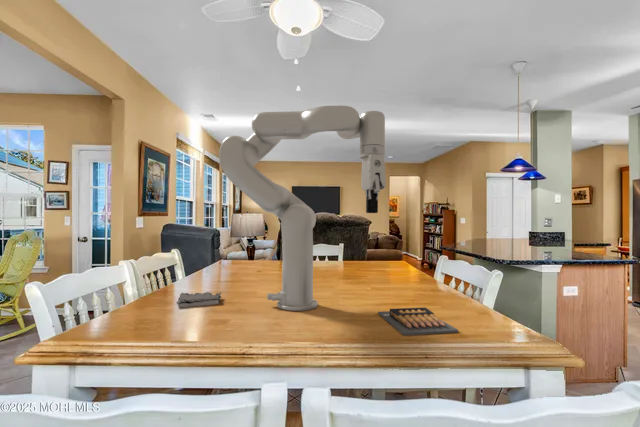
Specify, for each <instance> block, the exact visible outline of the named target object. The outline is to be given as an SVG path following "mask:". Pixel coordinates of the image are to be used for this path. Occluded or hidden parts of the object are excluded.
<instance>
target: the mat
mask: <svg viewBox="0 0 640 427" xmlns="http://www.w3.org/2000/svg"><path fill="white" fill-rule="evenodd" d="M377 314H378V315H379V316H380V317H381V318H382V319H384V321H386V322H387V323H388V324H390V325H391V326H392V327H393V328H395V330H397V331H398V332H399V333H400V334H402V335H403V336H417V335H419V336H420V335H436V334H454V333H455V334H456V333H457V334H458V333H459V330H458V329H457V328H456V327H454V326H452V325H450V324H448V323H447V322H446V321H443V320H442V319H440V320H441V321H443V322H444V323H445V325H446V326H445V327H444V326H441V325H439V324H438V325H439V327H436V326H433V325H432V327H428V326H426V325H425V326H426V327H425V328H424V327H421V326H420V325H418V326H419V328H416V327H414V326H412V325H411V326H412V328H408V327H406V326H405V325H403V324H402V323H400V322H397V321H396V320H395V319H393V318H392V317H391V316H390V310H388V311H387V310H386V311H385V310H384V311H378V313H377Z"/></svg>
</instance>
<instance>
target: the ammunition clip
mask: <svg viewBox="0 0 640 427" xmlns="http://www.w3.org/2000/svg"><path fill="white" fill-rule="evenodd" d="M389 311H390V316H391V317H392V318H393V319H395V320H396V321H397V322H400V323H402V324H403V325H405V326H406V327H408V328H412V326H414V327H416V328H419V326H418V325H420V326H421V327H424V328H425V327H426V326H428V327H432V325H433V326H436V327H439V325H441V326H444V327H445V326H446V325H445V323H446V322H445V321H444V322H445V323H444V322H443V320H442V319H440V318H439V317H438V316H437V315H435V313H434V312H433V311H432V310H430V309H428V308H427V307H404V308H400V307H399V308H389ZM441 320H442V321H441ZM438 324H439V325H438ZM411 325H412V326H411ZM425 325H426V326H425Z"/></svg>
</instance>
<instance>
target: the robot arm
mask: <svg viewBox="0 0 640 427" xmlns="http://www.w3.org/2000/svg"><path fill="white" fill-rule="evenodd" d="M385 119H386V117H385V114H384V112H381V111H380V110H368V111H364V112H363V113H361V115H360V113H359V112H358V111H357V109H356V108H354V107H352V106H349V105H321V106H316V107H313V108H308V109H305V110H300V111H299V110H297V111H295V110H293V111H262V112H259V113H257V114H255V115H254V116H253V118H252V120H251V129H252V132H253V133H252V134H251V136H249V137H248V138H247V139H246V138H244V137H242V136H238V135H230V136H227V137H225V139H224V140H222V142H221V143H220V147H219V150H218V157H219V158H218V159H219V160H218V161H219V164H220V168H221V170H222V172H223V174H224V175H225V177H226V178H227V179H228V180H229V181H230V182H231V183H232V184H233V186H235V187H236V188H237V189H239V190H240V191H241V192H242V193H244V195H245V196H247V197H248V198H249V199H250V200H251V201H252V202H254V203H255V204H256V205H258V206H259V208H260V209H262V210H263V211H264V212H266V213H269V214H272V215H275V217H276V218H278V219H279V220H280V221H281V222H280V227H281V238H282V239H281V240H282V241H281V242H282V243H281V245H282V248H281V249H282V252H281V253H282V269H281V270H282V271H281V272H282V273H281V274H282V276H281V277H282V278H281V279H282V280H281V283H282V284H281V289H280V291H278V292H277V293H272V292H271V293H267V295H266V296H267V300H269V301H277V304H276V306H277V308H279V309H281V310H284V311H293V312H301V311H303V312H304V311H309V310H314V309H316V308H318V304H319V303H318V301H317V300H316V299H315V298H314V295H313V294H314V236H313V234H314V233H313V232H314V231H313V229H314V228H315V226H316V223H317V215H316V213H315V211H314V210H313V209H312V208H311V207H310V206H309V205H308V204H306V203H305V202H304V201H303V200H302V199H300V198H299V197H297V196H296V195H295V194H294V193H292V192H291V191H290V190H289V189H287V188H286V187H285V186H283V185H280V184H279V183H276V182H274V181H272V179H270V178H268V177H267V176H266V175H265V174H263V173H262V172H261V171H260V170H259V169H257V168H256V167H255V166H256V164H258V163H259V162H261V160H262V159H263V158H265V156H267V155H268V154H269V153H270V152H271V151H272V150H273V149H274V148H275V147H276V146H277V145H278V144H279V143H280V142H281V141H282V140H304V139H306V138H308V137H310V136H312V135H314V134H317V133H323V132H336V134H337V135H338V136H339V138H341V139H344V140H353V139H359V159H360V160H361V162H362V163H361V174H360V175H361V177H360V178H361V180H360V182H361V184H360V185H361V189H362V190H363V191H364V195H365V202H366V203H365V208H366V209H365V213H366V214H378V213H379V193H381V190H384V189H385V188H386V185H387V184H386V183H387V182H386V180H387V179H386V178H387V177H386V166H385V164H386V163H385V157H386V154H385V151H386V147H385V146H386V138H385V137H386V133H385V132H386V131H385V130H386V129H385V128H386V120H385Z"/></svg>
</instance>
